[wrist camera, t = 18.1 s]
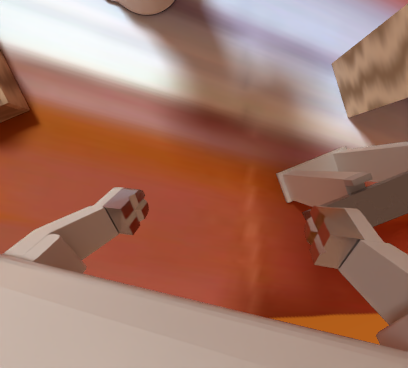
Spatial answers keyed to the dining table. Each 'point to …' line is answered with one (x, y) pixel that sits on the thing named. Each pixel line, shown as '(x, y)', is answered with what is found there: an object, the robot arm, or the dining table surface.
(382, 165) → the rack
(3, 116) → the crate
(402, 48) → the stand
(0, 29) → the dining table surface
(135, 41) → the dining table surface
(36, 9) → the dining table surface
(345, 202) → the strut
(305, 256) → the dining table surface
